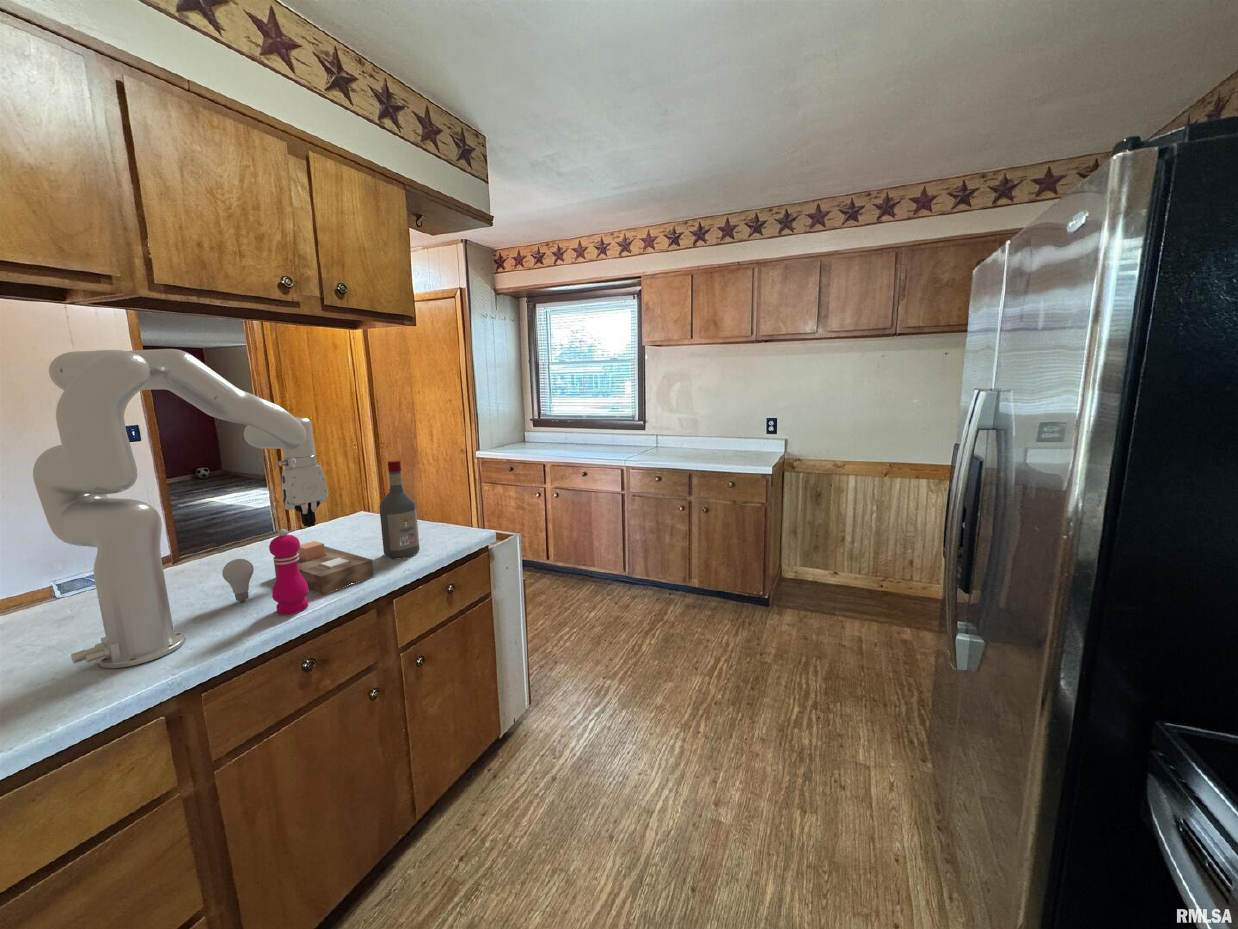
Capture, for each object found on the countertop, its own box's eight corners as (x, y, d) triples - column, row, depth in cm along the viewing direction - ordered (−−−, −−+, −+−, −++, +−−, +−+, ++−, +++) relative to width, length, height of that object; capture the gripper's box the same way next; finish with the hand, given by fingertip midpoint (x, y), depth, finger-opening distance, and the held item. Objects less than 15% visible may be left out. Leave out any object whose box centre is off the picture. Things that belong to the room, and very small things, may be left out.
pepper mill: (292, 617, 112) (282, 534, 109) (266, 615, 113) (255, 532, 110) (317, 603, 119) (308, 525, 116) (293, 601, 120) (283, 524, 117)
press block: (322, 595, 124) (320, 576, 123) (276, 577, 136) (273, 560, 135) (373, 576, 136) (372, 559, 135) (326, 561, 148) (325, 546, 147)
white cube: (332, 584, 129) (330, 566, 129) (322, 580, 132) (320, 563, 131) (350, 578, 134) (349, 560, 133) (340, 574, 136) (338, 557, 135)
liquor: (422, 553, 155) (415, 460, 150) (394, 560, 148) (385, 464, 143) (409, 547, 161) (401, 458, 156) (381, 554, 154) (372, 461, 149)
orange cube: (307, 565, 135) (305, 548, 134) (298, 562, 137) (296, 545, 137) (325, 560, 139) (323, 543, 138) (316, 557, 142) (314, 541, 141)
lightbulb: (225, 609, 117) (218, 565, 115) (228, 600, 122) (222, 558, 120) (256, 602, 120) (250, 560, 118) (258, 594, 125) (252, 553, 123)
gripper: (277, 468, 126) (287, 535, 129) (335, 459, 138) (343, 520, 142) (263, 465, 129) (273, 531, 133) (321, 457, 142) (328, 517, 145)
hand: (309, 525), depth 137 cm, fingers closed
